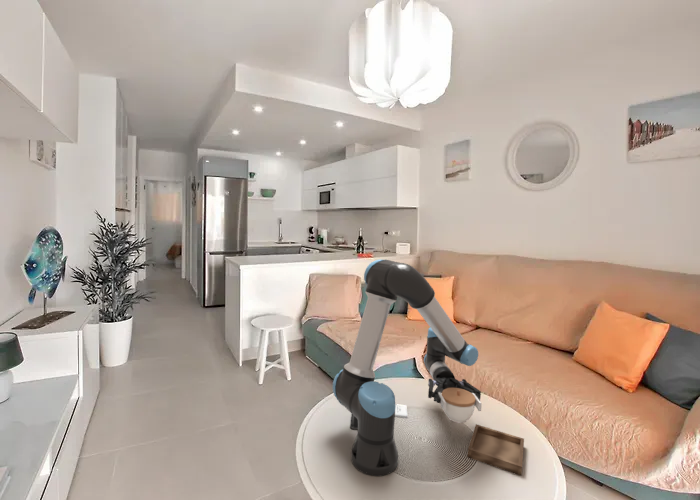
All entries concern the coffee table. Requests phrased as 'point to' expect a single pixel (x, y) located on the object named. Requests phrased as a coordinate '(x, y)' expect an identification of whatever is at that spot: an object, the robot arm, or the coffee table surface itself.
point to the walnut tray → (497, 449)
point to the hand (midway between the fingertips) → (462, 406)
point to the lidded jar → (458, 404)
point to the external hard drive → (401, 411)
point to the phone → (354, 423)
